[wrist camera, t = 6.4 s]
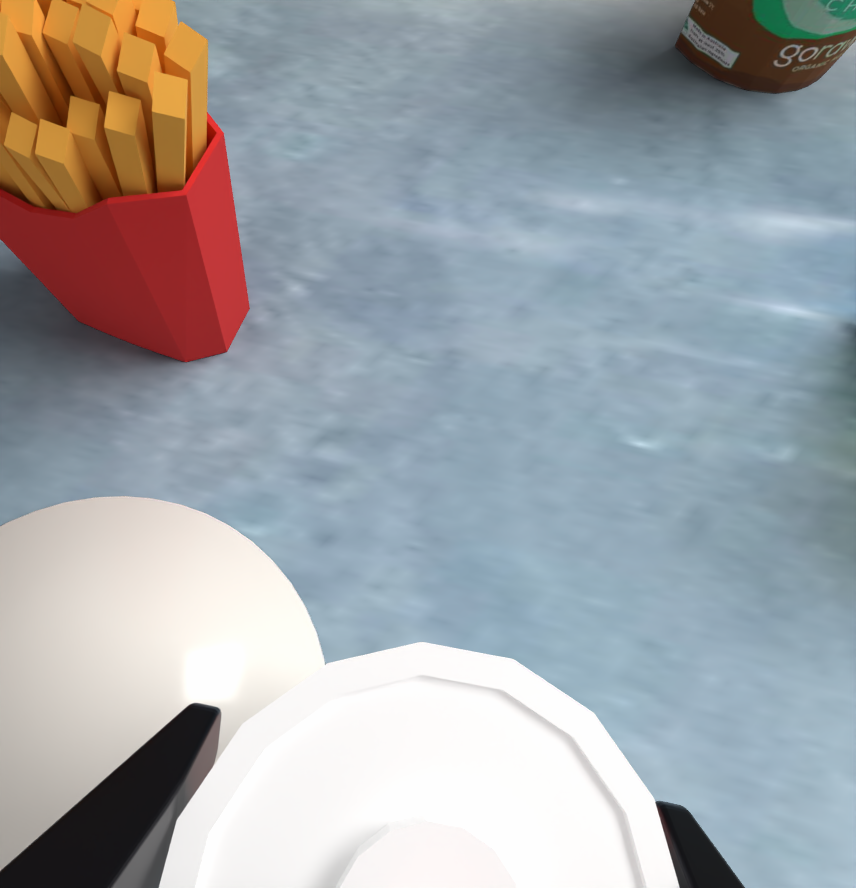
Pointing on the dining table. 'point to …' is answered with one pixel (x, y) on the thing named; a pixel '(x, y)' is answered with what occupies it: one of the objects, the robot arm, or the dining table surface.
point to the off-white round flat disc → (129, 643)
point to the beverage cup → (421, 786)
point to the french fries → (119, 172)
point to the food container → (768, 40)
